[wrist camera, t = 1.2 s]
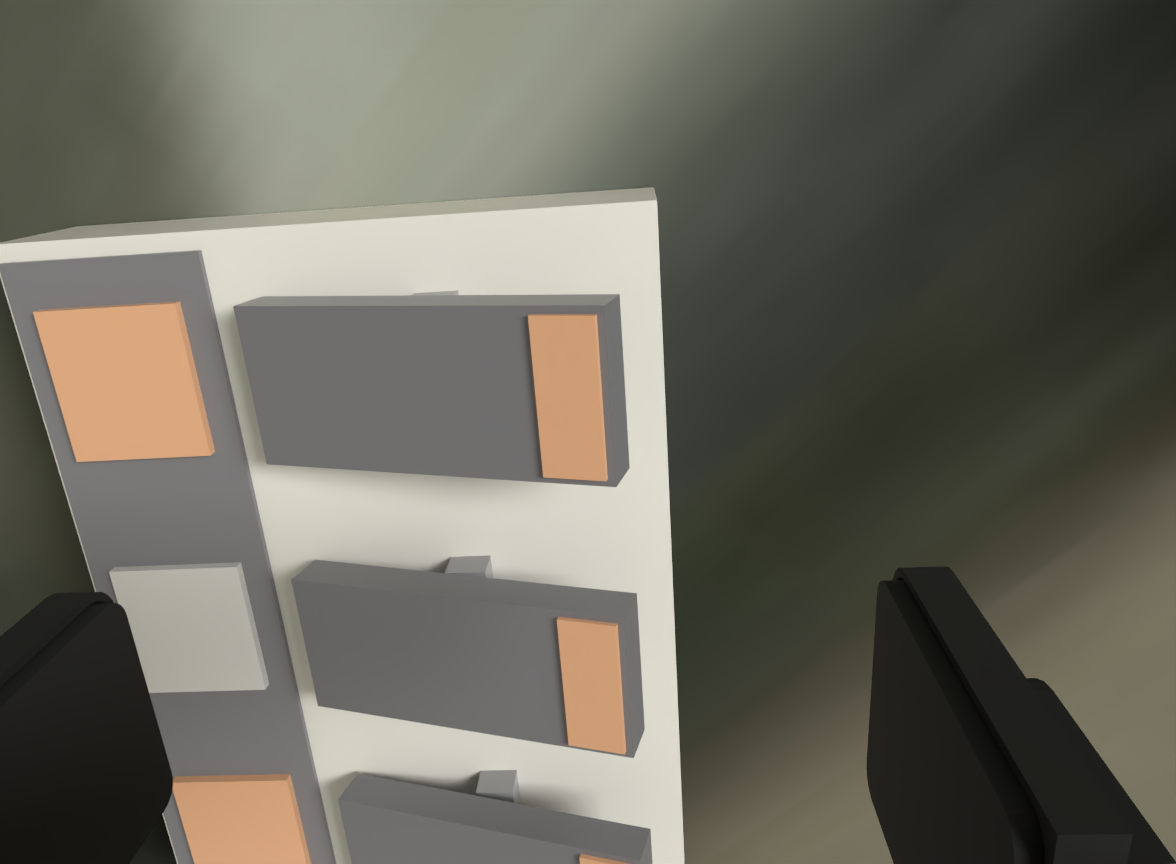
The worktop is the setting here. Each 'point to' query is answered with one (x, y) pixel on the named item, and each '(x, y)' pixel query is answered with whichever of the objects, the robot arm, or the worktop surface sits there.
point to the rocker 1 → (441, 384)
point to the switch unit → (334, 503)
